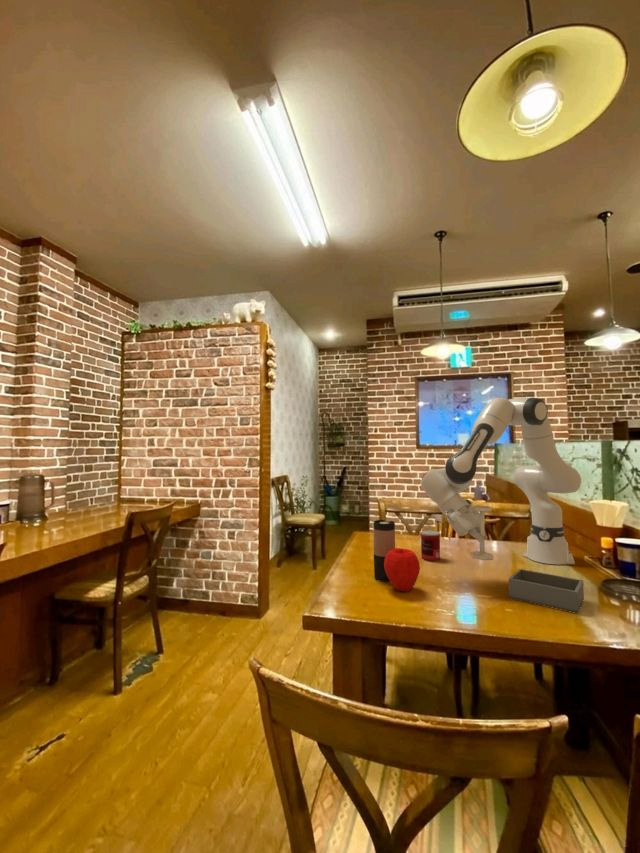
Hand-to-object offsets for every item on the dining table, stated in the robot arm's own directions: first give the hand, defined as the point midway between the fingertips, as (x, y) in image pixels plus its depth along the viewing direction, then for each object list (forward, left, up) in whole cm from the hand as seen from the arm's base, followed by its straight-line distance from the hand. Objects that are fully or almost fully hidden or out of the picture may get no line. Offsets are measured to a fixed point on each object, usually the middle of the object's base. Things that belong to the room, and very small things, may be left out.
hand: (484, 540), depth 134 cm
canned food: (-18, -28, -15) cm, 36 cm away
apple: (+22, -20, -15) cm, 33 cm away
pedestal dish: (0, -1, -6) cm, 6 cm away
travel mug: (+16, -30, -15) cm, 37 cm away
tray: (0, +18, -15) cm, 24 cm away
